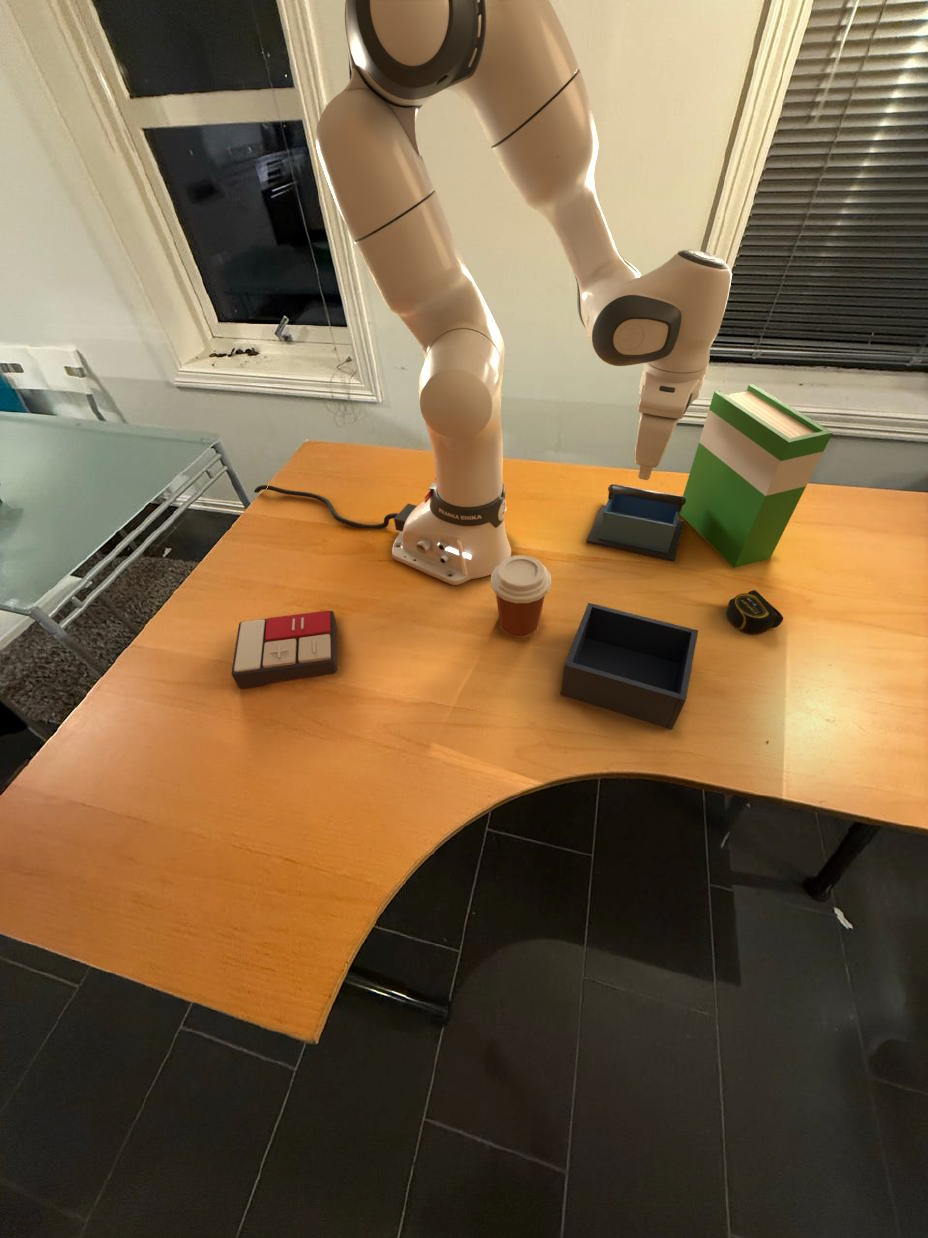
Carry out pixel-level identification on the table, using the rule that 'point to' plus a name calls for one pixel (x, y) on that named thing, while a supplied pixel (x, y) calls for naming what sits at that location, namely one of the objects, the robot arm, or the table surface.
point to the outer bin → (630, 665)
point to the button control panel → (285, 648)
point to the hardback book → (750, 473)
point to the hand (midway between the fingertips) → (649, 462)
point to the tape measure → (752, 613)
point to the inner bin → (640, 517)
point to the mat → (669, 556)
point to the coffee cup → (520, 593)
